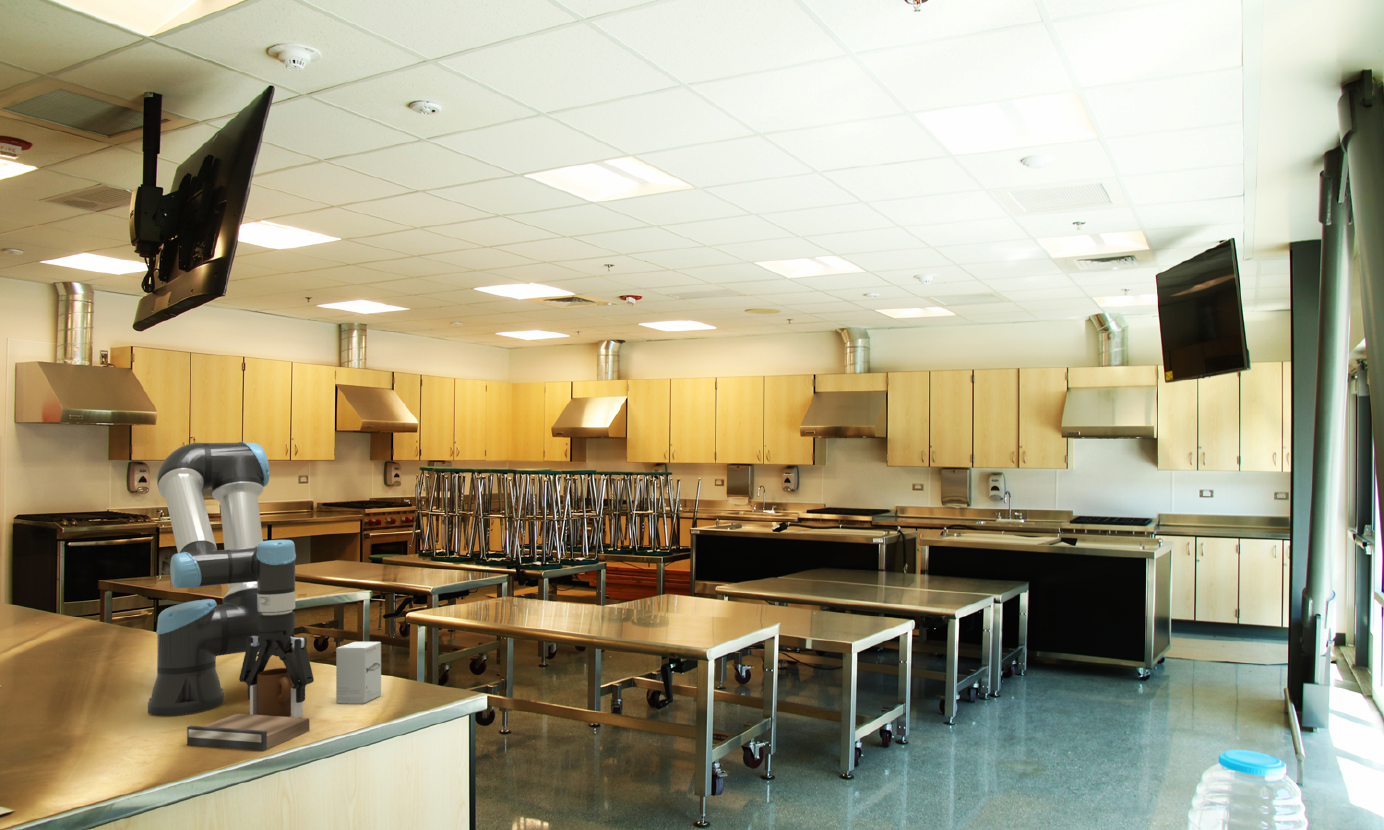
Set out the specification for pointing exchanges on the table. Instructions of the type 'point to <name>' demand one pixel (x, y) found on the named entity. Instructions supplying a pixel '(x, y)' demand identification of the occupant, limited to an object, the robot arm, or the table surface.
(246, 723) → the wooden slab
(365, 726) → the table surface
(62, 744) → the table surface
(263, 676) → the mug
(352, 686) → the supplement box
